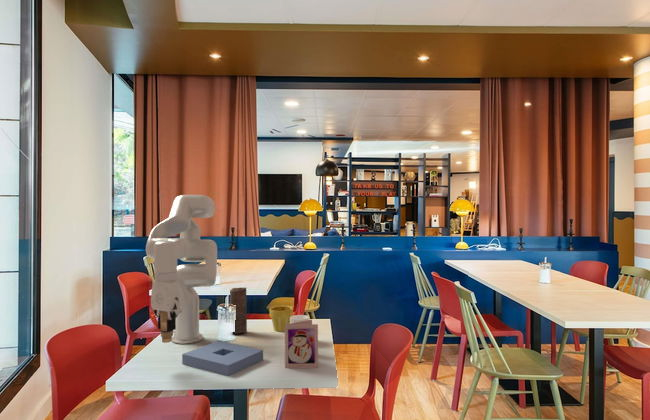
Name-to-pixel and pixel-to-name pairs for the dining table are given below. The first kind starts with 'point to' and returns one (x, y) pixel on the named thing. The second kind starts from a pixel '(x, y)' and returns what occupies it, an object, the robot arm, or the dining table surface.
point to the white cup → (298, 318)
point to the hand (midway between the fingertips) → (166, 328)
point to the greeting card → (301, 345)
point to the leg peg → (165, 328)
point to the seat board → (222, 357)
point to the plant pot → (280, 317)
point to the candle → (239, 308)
